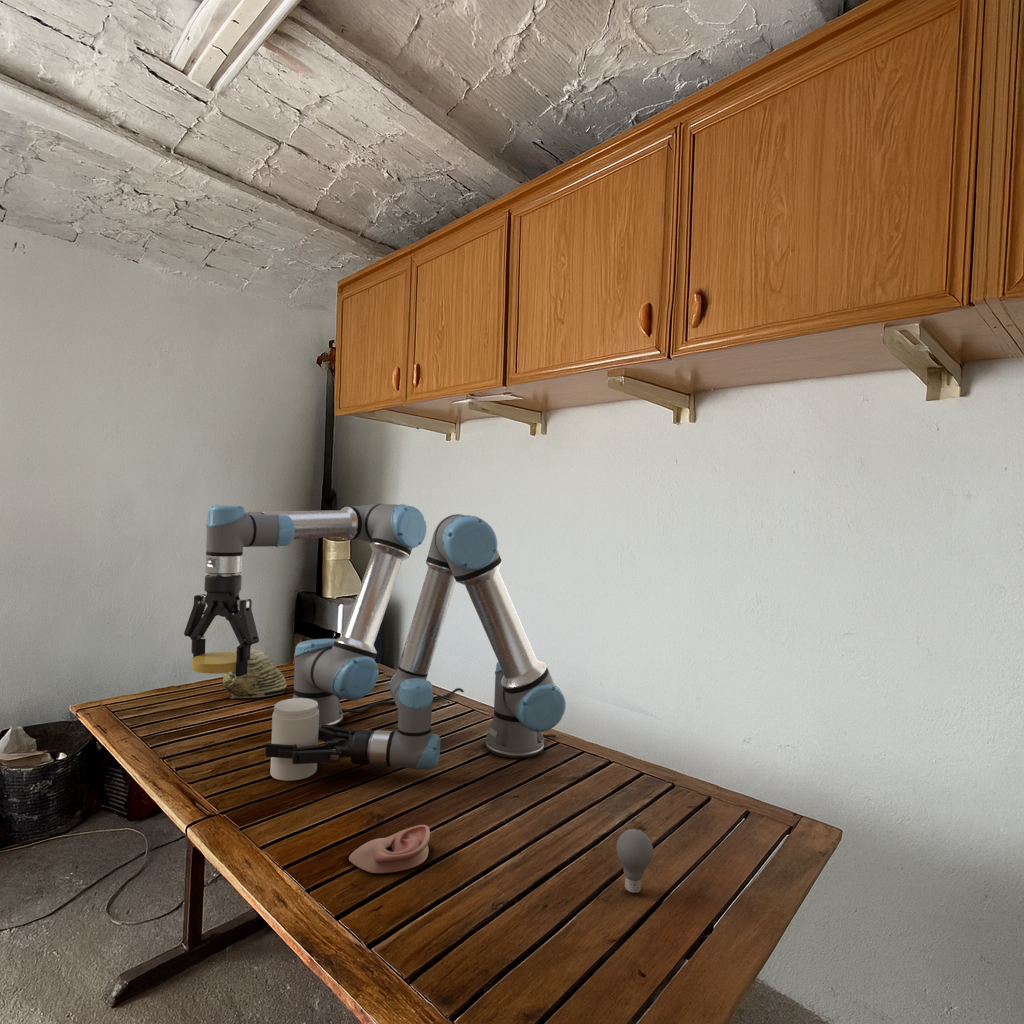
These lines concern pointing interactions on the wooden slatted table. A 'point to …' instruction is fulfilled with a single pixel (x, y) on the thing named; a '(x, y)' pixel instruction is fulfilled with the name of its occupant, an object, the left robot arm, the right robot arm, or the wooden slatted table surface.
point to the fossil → (256, 678)
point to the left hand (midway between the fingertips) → (219, 671)
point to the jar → (294, 735)
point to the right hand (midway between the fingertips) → (277, 740)
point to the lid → (215, 662)
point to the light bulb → (634, 857)
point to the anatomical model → (393, 851)
